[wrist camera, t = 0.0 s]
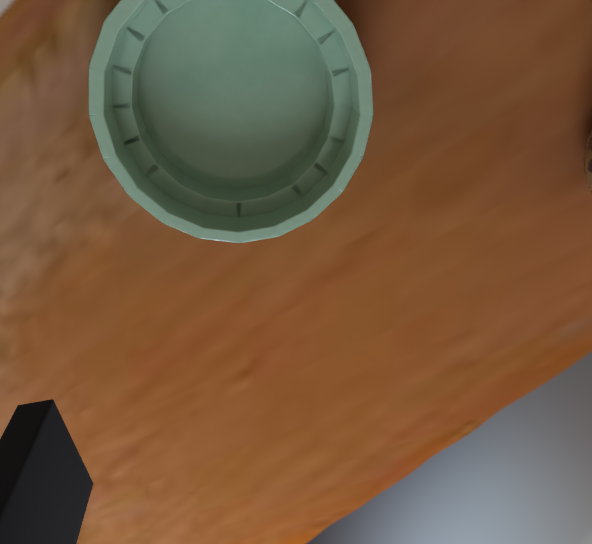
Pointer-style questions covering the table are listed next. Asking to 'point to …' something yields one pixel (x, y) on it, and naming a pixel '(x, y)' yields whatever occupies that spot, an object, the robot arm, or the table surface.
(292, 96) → the bowl
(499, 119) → the table surface
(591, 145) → the ceramic vessel
